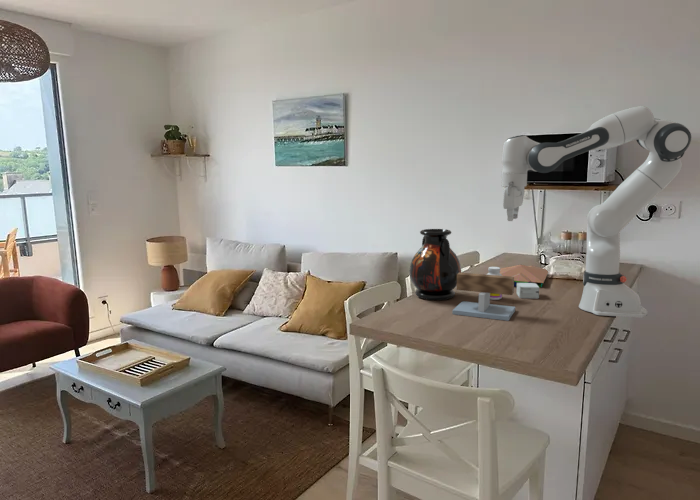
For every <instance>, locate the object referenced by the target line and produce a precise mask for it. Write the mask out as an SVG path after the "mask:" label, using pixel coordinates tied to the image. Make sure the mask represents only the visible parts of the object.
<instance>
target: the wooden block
mask: <svg viewBox="0 0 700 500" xmlns="http://www.w3.org/2000/svg"><path fill="white" fill-rule="evenodd" d="M514 283H515V282H514V277H511V276H498V275H486V273H485V274H484V273H472V272H470V273H469V272H461V273H458V274H457V286H456V290H457V291H464V292H474V293H475V292H476V293H480V292H484V293H495V294H502V295H507V296H512V295H513V294H514V292H515V291H514V290H515V284H514Z"/></svg>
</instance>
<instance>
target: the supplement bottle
mask: <svg viewBox="0 0 700 500" xmlns="http://www.w3.org/2000/svg"><path fill="white" fill-rule="evenodd" d="M500 268H501V267H499V266H489V267H488V272H487V273H485V275H498V276H502V275H501V274H500ZM502 298H503V294H495V293H490V301H498V300H501V299H502Z"/></svg>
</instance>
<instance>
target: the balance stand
mask: <svg viewBox="0 0 700 500" xmlns="http://www.w3.org/2000/svg"><path fill="white" fill-rule="evenodd" d="M515 312H516V306H514V305H513V306H511V305H501V304H495V303H494V304H492V303H491V300H490V293H484V292H478V302H474V301H466V300H465V301H463V300H462V301H461V302H460V303H459V304H458V305H456V306H455V307H454V308H453V309H452V315H456V316H464V317H465V316H466V317H475V318H482V319H483V318H484V319H491V320H497V321H498V320H499V321H510V319H511V318H512V316H513V314H514V313H515Z"/></svg>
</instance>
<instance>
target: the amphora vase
mask: <svg viewBox="0 0 700 500" xmlns="http://www.w3.org/2000/svg"><path fill="white" fill-rule="evenodd" d="M419 233H420V235H422V236H423V237H422V242H421V247H420V248H419V249H418V250H417V251H416V252H415V254H414V255H413V258H412V259H411V262H410V265H409V278H410V282H412V284H413V286H414V287H415V288H416V290H415V296H416V297H418V298H420V299H424V300H429V301H443V300H445V301H446V300H449V299H452V298H453V297H455V294H456V292H455V291H454V289H455V288H457V274H458V273H462V267H461V262H460V260H459V257H458V255H457V254H456V253H455V252H454V250H453V249H452V248H451V247H450V245H451V244H450V242H449V240H448V239H447V237H448V236H450V235H451V234H452V231H451V230H450V229H445V228H428V229H422V230H420V231H419Z"/></svg>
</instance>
